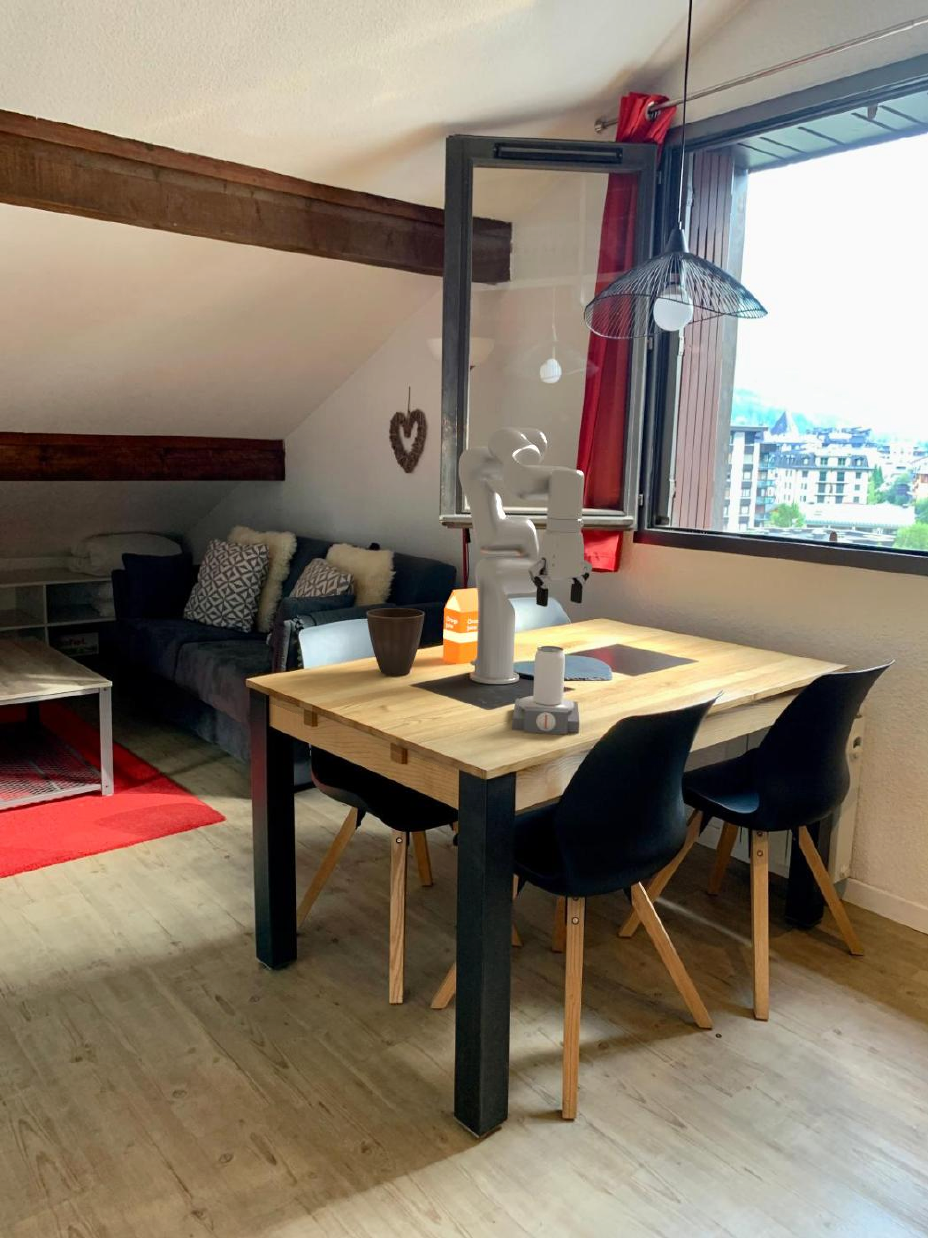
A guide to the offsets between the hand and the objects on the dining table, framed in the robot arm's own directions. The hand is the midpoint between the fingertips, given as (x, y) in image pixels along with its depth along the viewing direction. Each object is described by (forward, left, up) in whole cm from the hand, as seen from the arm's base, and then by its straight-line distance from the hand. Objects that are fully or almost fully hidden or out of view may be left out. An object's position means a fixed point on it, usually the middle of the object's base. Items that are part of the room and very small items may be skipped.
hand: (559, 603), depth 209 cm
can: (+3, -5, -21) cm, 22 cm away
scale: (+4, -6, -25) cm, 26 cm away
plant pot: (-50, -11, -25) cm, 57 cm away
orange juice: (-54, +14, -25) cm, 61 cm away
